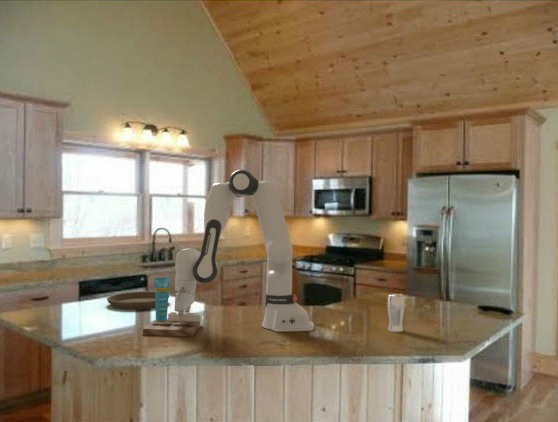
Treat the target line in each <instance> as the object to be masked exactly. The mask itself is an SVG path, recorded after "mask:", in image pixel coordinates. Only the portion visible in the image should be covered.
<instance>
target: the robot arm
mask: <svg viewBox="0 0 558 422" xmlns="http://www.w3.org/2000/svg"><path fill="white" fill-rule="evenodd" d="M247 196H250V197H251V199H252V201H253V203H254V207H255V208H254V209H255V211H256V214H257V218H258V222H259V226H260V230H261V231H260V232H261V235H262V237H263V238H262V239H263V244H264V247H265V252H266V254H267V258H266V259H267V260H266V288H265V289H266V293H265V294H264V295H265V296H264V305H265V310H264V311H265V312H264V317H263V321H262V324H261V326H262V327H263V328H265V329H268V330H271V331H274V332H279V333H281V332H310V331H313V330H314V329H315V324H314V323H313V322H312V321H310V317H309V313H308V311H307V310H306V309H305V308H303V306H301V305H300V304H299V303H298V302H297V301H298V297H297V295H296V294H294V293H293V290H292V289H293V250H294V249H293V244H292V242H291V241H292V240H291V238H290V237H291V236H290V233H289V230H288V226H287V225H288V224H287V222H286V218H285V215H284V211H283V208H282V204H281V200H280V196H279V193H278V191H277V189H276V187H275V185H274V183H273V182H271V181H269V180H260V181H259V180H258V179H257V178H256V177H255V176H254V175H253V174H252V173H251V172H250V171H248V170H247V169H238V170H235V171H234V172H232V173H231V174H230V176H229V178H228V181H227V182H216V183H213V184H212V186H211V187H210V189H209V192H208V195H207V198H206V201H205V206H204V213H203V225H204V228H203V229H204V233H203V234H204V235H203V241H202V245H201V249H200V251H199V250H197V249H196V248H195V247H187V248H181V249H179V250H178V251H177V253H176V254H175V255H176V256H175V264H174V265H175V266H174V267H175V268H174V269H175V277H174V290H175V291H177V292H176V293H175V297H174V312H176V313H178V314H179V320H180V321H183V320H184V313H191V312H190V311H191V308H192V307H191V306H192V305H193V304H194V302H195V298H196V288H197V286H198V283H197V282H199V283H202V284H208V283H212V282H213V281H214V280H215V279H216V277H217V275H218V268H219V265H218V261H217V260H216V258H217V257H216V256H217V251H218V247H219V241H220V238H221V235H222V234H223V231H224V230H225V228H226V226H227V223H229V222H228V221H229V218H230V215H231V210H232V205H233V202H234V199H236V198H243V197H247Z"/></svg>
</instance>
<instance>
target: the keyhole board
mask: <svg viewBox="0 0 558 422" xmlns="http://www.w3.org/2000/svg"><path fill="white" fill-rule="evenodd" d="M199 329H201V322H189V321H168V320H165V321H157V320H156V319H154V320H152V322H151V321H150V323H149V324H147V325H146V326H145V327H143V328H142V336H167V337H170V336H171V337H193V336H194V335H195V334H196V333H197V332H198V331H199Z"/></svg>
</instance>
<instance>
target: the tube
mask: <svg viewBox="0 0 558 422" xmlns="http://www.w3.org/2000/svg"><path fill="white" fill-rule="evenodd" d="M153 282H154V292H155V305H156V307H155V321H168V307H169V298H170V295H169V294H170V286H171V285H170V284H171V276H169V277H168V276H167V277H154V278H153ZM168 297H169V298H168Z"/></svg>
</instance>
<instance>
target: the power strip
mask: <svg viewBox="0 0 558 422" xmlns="http://www.w3.org/2000/svg"><path fill="white" fill-rule="evenodd" d="M167 321H180V320H179V314H178V312H176V311H171V312H169V313H167ZM183 321H189V322H200V323H201V322H202V321H203V312H202V313H201V312H200V313H199V312H197V313H196V312H190V313H185V312H184V320H183Z"/></svg>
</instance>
